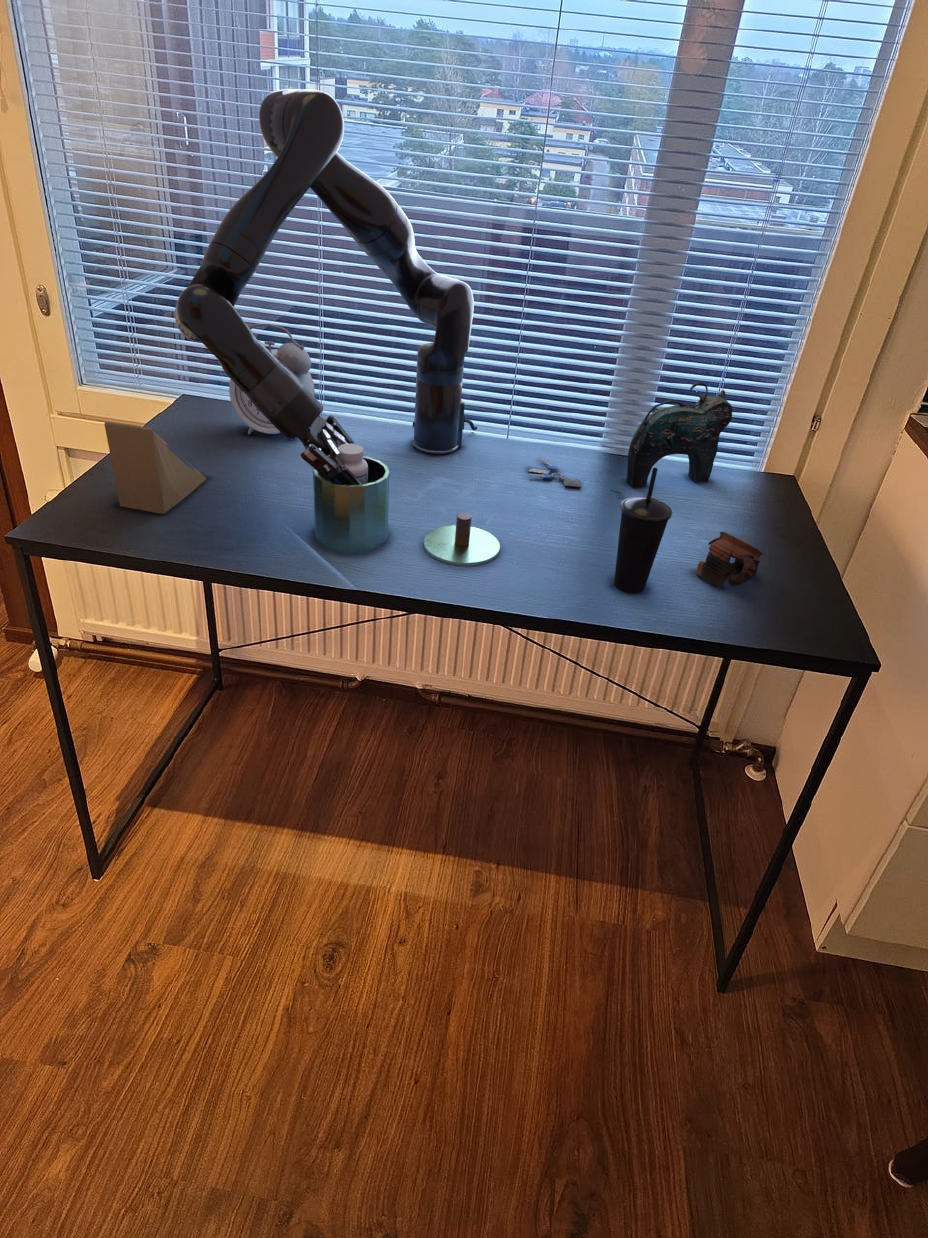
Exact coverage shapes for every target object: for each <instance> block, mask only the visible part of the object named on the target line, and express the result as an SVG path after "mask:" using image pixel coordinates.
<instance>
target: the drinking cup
mask: <svg viewBox="0 0 928 1238" xmlns="http://www.w3.org/2000/svg"><path fill="white" fill-rule="evenodd" d="M657 474H658V467H652V469H651V476H650V479H649V484H648V490H647V493H646V496H632V497H628V498H627V497H626V498H625V499H623V500H622V501H621V503H620V507H619V509H620V511H621V513H620V523H619V532H618V541H617V542H618V543H617V552H616V561H615V570H614V578H613V579H614V580H613V581H614V583H613V584H614V587H615V588H616V589H618V590H619V591H621V592H623V593H626V594H639V593H642V592H643V591H644V590H645V588H646V586H647V583H648V580H649V577H650V574H651V571H652V568H653V565H654V562H655V559H656V557H657V553H658V551H659V548H660V545H661V542H662V539H663V536H664V533H665V531H666V527H667V525H668V522H669V520H670V519H671V518H672V515H673V510H672V508H671V506H669V505H668V504H666V503H665V502H664V501H661V500H659V499H656V498H654V497H652V496H653V491H654V486H655V482H656V479H657V478H656V477H657Z"/></svg>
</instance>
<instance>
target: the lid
mask: <svg viewBox="0 0 928 1238" xmlns="http://www.w3.org/2000/svg"><path fill="white" fill-rule="evenodd" d="M472 516H473V515H472V514H470V513H469V512H459V513H457V514H456V520H455V521H456V522H455V524H454V525H453V524H452V525H451V524H450V525H445V526H441V527H437V528H434V529H432V530H430V531H429V532H428V533H426V534H425V536H424V538H423V549H424V551H425V553H427V554H428V555H429V556H430V557H432V558H433V559H435V560H437V561H439V562H442V563H444V564H448V565H453V566H459V567H460V566H461V567H475V566H480V565H485V564H487V563H489V562H491V561H493V560H495V559H496V558H497V557H498V556H499V554H500V551H501V550H500V549H501V544H500V541H499V540H498V538H497V537H495V535H493V534H492V533H490V532H489V531H487V530H484V529H481V528H478V527H475V526H472V518H473V517H472Z"/></svg>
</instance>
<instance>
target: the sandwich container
mask: <svg viewBox="0 0 928 1238" xmlns="http://www.w3.org/2000/svg"><path fill="white" fill-rule="evenodd" d="M103 425H104V430H105V434H106V435H105V436H106V440H107V445H108V450H109V451H108V452H109V456H110V461H111V466H112V472H113V477H114V483H115V488H116V492H117V493H116V494H117V498H118V502H119V507H122V508H128V509H133V510H139V511H145V512H148V513H155V514H161V515H164V514H166V513H168V512H169V511H170V510H171V509H172V508H174V507H175V506H176V505H178V504H179V503H180V502H182V501H184V499H185V498H187V497H188V496H189V495H190V494H191V493H193V491H195V490H196V489H197V488H198V487H200V485H202V484H203V483H204V482H205V481H206V480H208V478H207V477H206V476H204V475H203V474H202V473H201V472H200V471H198V469H196V468H195V467H194V466H193V465H191V463H189V462H188V461H187V460H186V459H185V458H184V457H182V455H181V454H179V453H178V452H176V450H174V449H173V448H172V447H171V446H170V445H169V444H168V443H167V442H166V441H165V440H164V439H163V438H162V437H161V436H160V435H159V434H158V433H156V432H155V430H153V429H152V428H150V427H149V428H148V427H143V426H138V425H133V424H128V423H121V422H113V421H105V422H104V424H103Z"/></svg>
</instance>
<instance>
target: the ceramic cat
mask: <svg viewBox="0 0 928 1238" xmlns="http://www.w3.org/2000/svg"><path fill="white" fill-rule="evenodd" d="M697 386H704V387H705V394H701V393H699V392H698V393H697V396H698V398H699V399H698V400H697V402H696V404H695V405H692V404H691V405H689V404H686V403H683V402H680V401H677V400H668V401H664V402H659V403H657V404H655V405H653V406H652V407H651V408H650V409H649V411H648V412H647V413H646V415H645V417H644V419H643V420H642V421H641V422H640V424H639V425H638V427H637V429H636V431H635V432H633V433H634V434H633V436H632V437H631V440H630V443H629V448H628V452H627V469H626V472H627V473H626V483H627V484H628V485H630V486H631V487H632V488H642V487H643V488H644V487H646V486H647V483H648V478H649V476H650V474H651V472H652V470H653V468H654V466H655V465H656V464H657V463H658V462H659V461H660V460H661V459H664V458H665V457H667V456H672V455H686V456H687V458H688V478H689V479H690V480H692V481H693V482H694V483H700V482H709V481H710V477H711V475H712V471H713V468H714V467H713V466H714V464H715V463H714V462H715V459H716V456H717V453H718V447H719V441H720V435H721V433H722V432H723V431H724V430H725V429H726V428H727V427H728V426H729V425H730V423H731V421H732V418H733V408H734V407H733V406H732V404H731V403H730V402H729V401H728V399H727V397H726V396H727V395H726V391H725V390H724V389H722V390H721V391H720V393H719V394H718V395H717V394H716V395H708V392H709V388H708V386H707V384H705V383H704V382H701V381H699V382H695V383H693V384H692V385H690V388H689V390H690V391H692V390H693V389H695V388H696V387H697ZM668 404H675V405H671V406H667V407H666V406H665V407H661V406H664V405H668ZM658 407H661V408H658ZM657 408H658V409H657ZM655 409H656V410H655Z"/></svg>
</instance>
